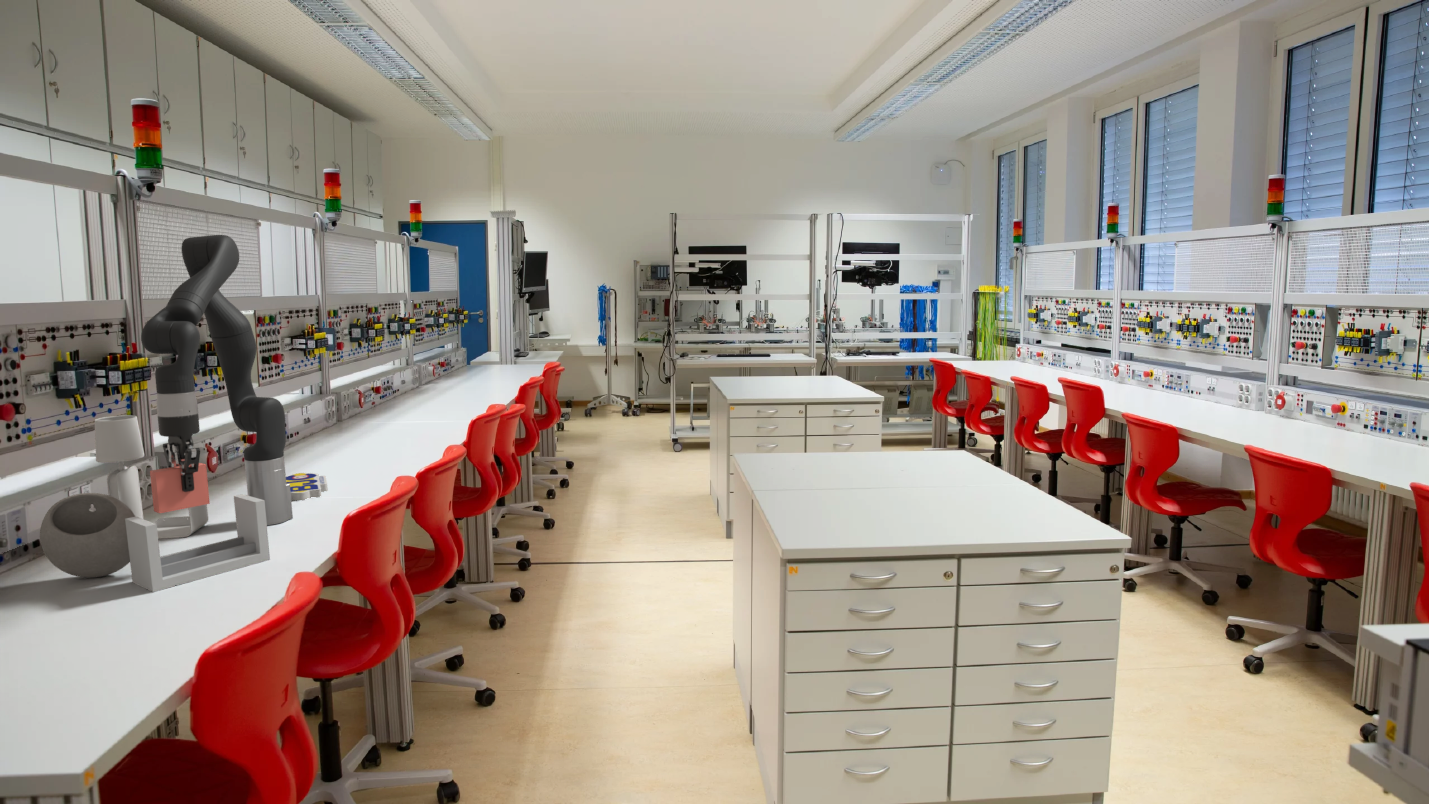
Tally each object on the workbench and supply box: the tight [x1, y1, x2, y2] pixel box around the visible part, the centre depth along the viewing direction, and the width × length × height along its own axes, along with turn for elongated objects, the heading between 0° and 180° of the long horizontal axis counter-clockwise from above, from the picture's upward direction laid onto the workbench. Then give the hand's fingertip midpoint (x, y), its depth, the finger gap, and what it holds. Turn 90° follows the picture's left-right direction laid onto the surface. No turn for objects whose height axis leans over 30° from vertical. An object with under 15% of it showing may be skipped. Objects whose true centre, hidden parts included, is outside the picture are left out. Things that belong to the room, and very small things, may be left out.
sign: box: [286, 472, 329, 501], centre depth 254 cm, size 28×3×20 cm
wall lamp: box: [94, 414, 209, 540], centre depth 210 cm, size 10×21×30 cm, turn 101°
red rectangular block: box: [149, 462, 211, 514], centre depth 184 cm, size 10×3×9 cm, turn 143°
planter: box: [39, 492, 136, 579], centre depth 180 cm, size 18×7×19 cm, turn 105°
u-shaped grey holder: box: [125, 493, 271, 593], centre depth 184 cm, size 24×10×14 cm, turn 145°
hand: (184, 489), depth 185 cm, fingers closed on red rectangular block, 3 cm apart
